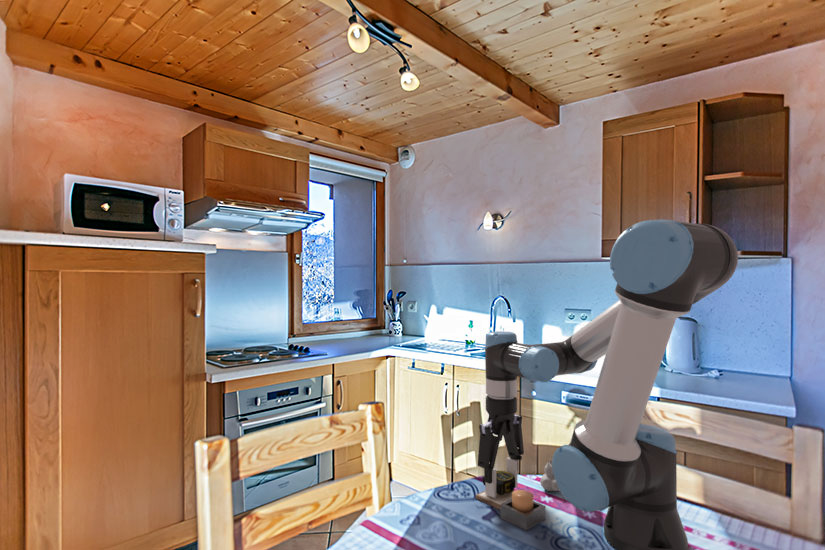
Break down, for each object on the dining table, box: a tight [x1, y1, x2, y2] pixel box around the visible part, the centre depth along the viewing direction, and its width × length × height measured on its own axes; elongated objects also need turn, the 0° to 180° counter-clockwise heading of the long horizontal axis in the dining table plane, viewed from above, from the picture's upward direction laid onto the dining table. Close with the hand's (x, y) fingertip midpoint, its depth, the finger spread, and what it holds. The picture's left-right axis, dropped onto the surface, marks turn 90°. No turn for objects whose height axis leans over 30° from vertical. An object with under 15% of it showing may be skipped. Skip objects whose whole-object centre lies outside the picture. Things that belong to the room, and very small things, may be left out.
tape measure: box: [482, 470, 516, 495], centre depth 112 cm, size 7×7×4 cm
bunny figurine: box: [540, 458, 560, 492], centre depth 116 cm, size 5×7×8 cm
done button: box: [512, 489, 534, 514], centre depth 102 cm, size 5×5×3 cm
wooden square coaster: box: [474, 489, 515, 510], centre depth 112 cm, size 9×9×1 cm
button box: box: [499, 499, 547, 531], centre depth 102 cm, size 7×7×3 cm
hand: (501, 490), depth 112 cm, fingers closed on tape measure, 7 cm apart
